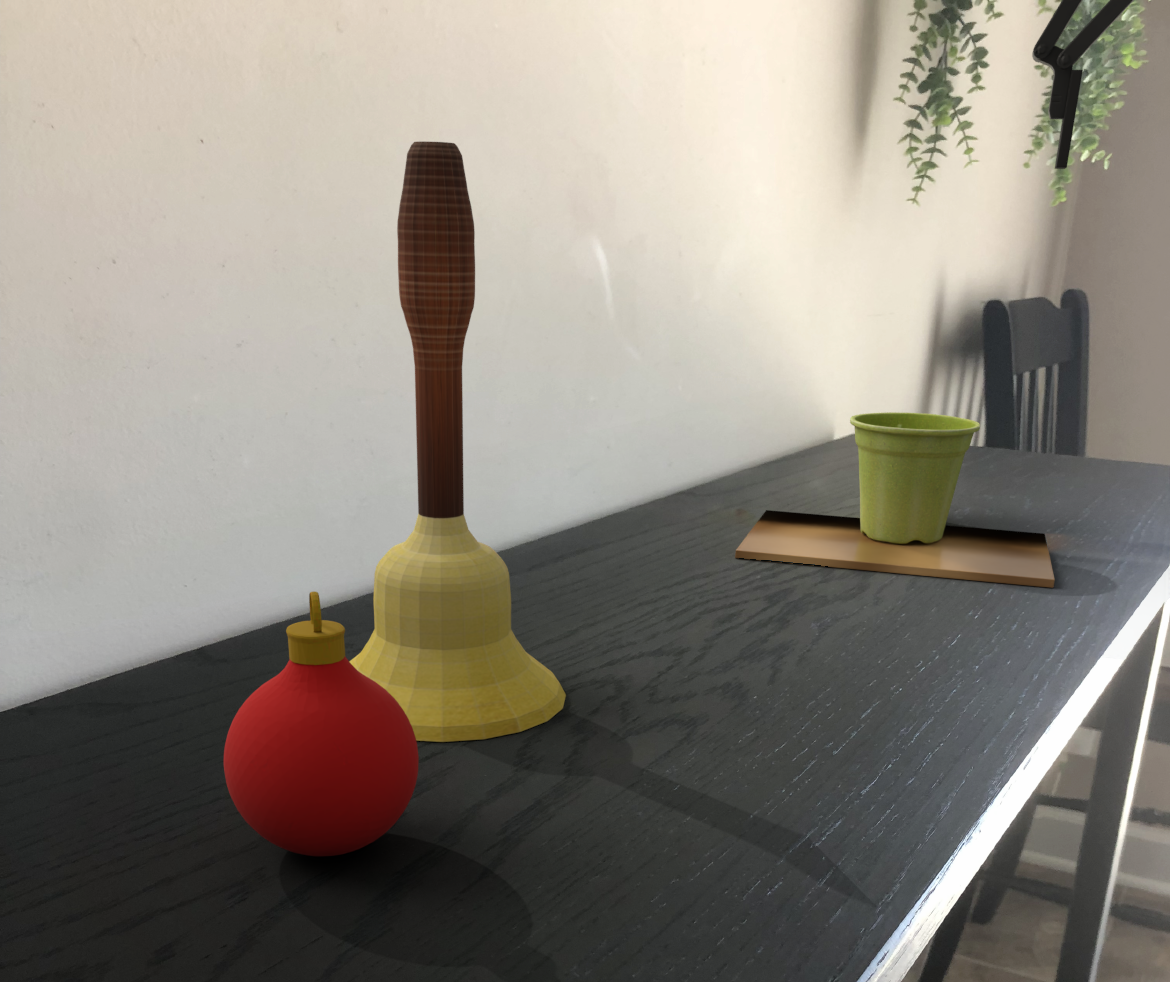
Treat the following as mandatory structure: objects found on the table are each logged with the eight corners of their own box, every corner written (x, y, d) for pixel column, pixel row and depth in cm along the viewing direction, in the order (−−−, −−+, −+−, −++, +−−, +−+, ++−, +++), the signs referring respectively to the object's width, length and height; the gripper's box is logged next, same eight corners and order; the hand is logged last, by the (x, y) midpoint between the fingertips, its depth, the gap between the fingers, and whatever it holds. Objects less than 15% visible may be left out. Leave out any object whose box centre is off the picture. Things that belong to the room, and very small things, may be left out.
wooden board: (1041, 532, 102) (1043, 525, 102) (1053, 588, 86) (1054, 579, 86) (770, 509, 108) (771, 502, 107) (734, 558, 92) (735, 549, 92)
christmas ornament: (435, 878, 46) (429, 614, 42) (235, 900, 44) (209, 626, 40) (405, 799, 53) (397, 562, 48) (229, 816, 51) (205, 571, 47)
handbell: (470, 642, 72) (465, 152, 62) (616, 704, 64) (639, 148, 53) (274, 687, 64) (232, 136, 54) (411, 763, 56) (392, 129, 46)
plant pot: (817, 538, 96) (830, 420, 92) (865, 517, 103) (878, 407, 99) (938, 558, 91) (955, 434, 87) (979, 534, 98) (997, 419, 95)
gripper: (1032, -179, 87) (984, 164, 95) (1440, -198, 81) (1350, 170, 89) (1028, -151, 94) (984, 168, 102) (1405, -166, 87) (1324, 174, 96)
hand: (1154, 170), depth 96 cm, fingers open, 13 cm apart
